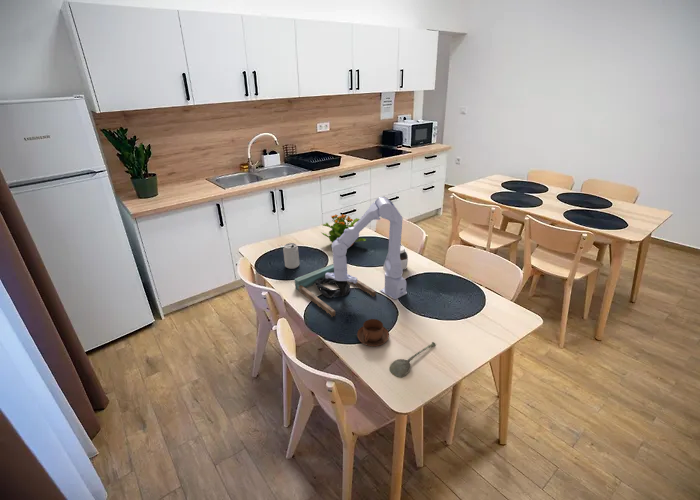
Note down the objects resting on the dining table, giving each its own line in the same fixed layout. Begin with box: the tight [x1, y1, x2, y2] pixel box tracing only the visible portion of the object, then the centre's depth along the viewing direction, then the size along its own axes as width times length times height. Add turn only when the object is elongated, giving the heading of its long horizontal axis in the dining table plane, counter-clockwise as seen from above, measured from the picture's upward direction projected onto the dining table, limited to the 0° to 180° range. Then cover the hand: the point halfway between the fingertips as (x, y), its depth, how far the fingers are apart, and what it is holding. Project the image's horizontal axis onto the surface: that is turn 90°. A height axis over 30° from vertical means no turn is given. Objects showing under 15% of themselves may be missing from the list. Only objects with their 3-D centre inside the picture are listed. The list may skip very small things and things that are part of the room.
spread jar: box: [383, 245, 409, 273], centre depth 178 cm, size 12×11×12 cm
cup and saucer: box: [356, 318, 390, 347], centre depth 134 cm, size 12×12×6 cm
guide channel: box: [294, 263, 377, 318], centre depth 163 cm, size 29×24×5 cm
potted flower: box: [321, 214, 366, 247], centre depth 204 cm, size 25×24×18 cm
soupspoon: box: [388, 341, 437, 379], centre depth 124 cm, size 22×3×7 cm
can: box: [282, 242, 300, 270], centre depth 184 cm, size 8×8×12 cm
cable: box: [314, 278, 351, 299], centre depth 165 cm, size 17×14×4 cm
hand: (342, 294), depth 159 cm, fingers closed, pressing on cable
